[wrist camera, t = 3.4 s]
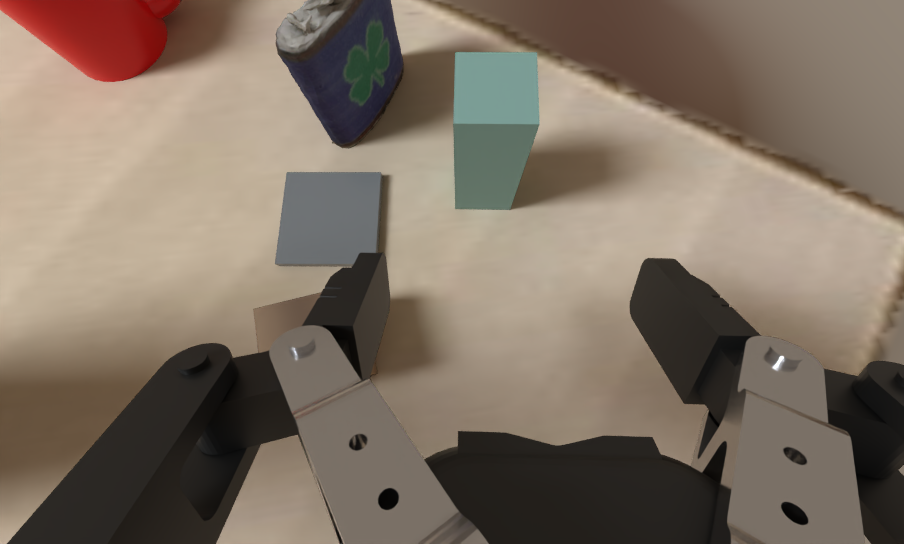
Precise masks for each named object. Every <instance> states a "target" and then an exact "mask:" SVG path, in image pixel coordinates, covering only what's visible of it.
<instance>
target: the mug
mask: <svg viewBox="0 0 904 544" xmlns="http://www.w3.org/2000/svg"><path fill="white" fill-rule="evenodd" d="M180 2H181V0H0V10H1V11H2V12H4V13H5V14H6V15H8V16H9V17H10V18H12V19H13V20H14V21H16V22H17V23H18V24H20V25H21V26H22V27H24V28H25V29H26V30H27V31H29V32H30V33H31V34H33V35H34V36H35V37H37V38H38V39H39V40H41V41H42V42H43V43H45V44H46V45H47V46H49V47H50V48H51V49H53V50H54V51H55V52H56V53H58V54H59V55H60V56H62V57H63V58H64V59H66V60H67V61H68V62H70V63H71V64H72V65H74V66H75V67H76V68H78V69H79V70H80V71H82V72H83V73H84V74H85V75H87V76H88V77H90V78H93V79H95V80H99V81H103V82H116V81H123V80H126V79H129V78H132V77H134V76H137V75H139V74H141V73H142V72H144V71H145V70H147V69H148V68H149V67H150V66H152V65H153V64H154V63H155V62H156V61H157V59H158V58H159V57H160V55H161V54H162V52H163V50H164V48H165V45H166V41H167V29H166V25H165V23H164V21H163V19H162V18H163V17H165V16H167V15H169V14H170V13H172V12H173V11H174V10H175V9H176V8H177V7H178V5H179V4H180Z"/></svg>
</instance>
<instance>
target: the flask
mask: <svg viewBox="0 0 904 544" xmlns="http://www.w3.org/2000/svg"><path fill="white" fill-rule="evenodd" d="M276 37H277V39H276V47H277V51H278V55H279V56H280V57H281V59H282V61H283V62H284V63H285V64H286V66H287V67H288V69H289V71H290V73H291V75H292V77H293V78H294V79H295V82H296V83H297V84H298V86H299V87H300V89H301V91H302V93H303V94H304V96H305V97H306V99H307V100H308V101H309V103H310V105H311V107H312V109H313V111H314V112H315V114H316V116H317V117H318V118H319V120H320V121H321V123H322V125H323V127H324V128H325V130H326V131H327V133H328V135H329V136H330V138H331V140H332V141H333V142H332V143H335V144H336V145H338V146H340V147H341V148H350V147H352V146H355V145H356V144H357V143H358V142H360V141H361V140H362V139H363V138H364V137H365V136H366V134H367V133H368V132H369V131H370V130H371V129H372V128H373V127H374V125H375V124H376V123H377V122H378V120H379V119H380V117H381V115H382V114H383V113H384V111H385V109H386V106H387V104H388V103H389V102H390V100H391V98H392V96H393V95H394V92H395V90H396V88H397V86H398V85H399V83H400V81H401V79H402V74H403V58H402V54H401V49H400V44H399V40H398V36H397V31H396V27H395V22H394V16H393V10H392V5H391V0H308V1H306V2H304V4H303V6H302V7H301V8H300V9H298V10H297V11H295V12H294V13H293V14H291V13H288V14H287V18H285V19H284V20H283V22H282V24H281V25H280V27H279V28H278V29H277V32H276Z"/></svg>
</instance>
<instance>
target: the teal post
mask: <svg viewBox="0 0 904 544" xmlns="http://www.w3.org/2000/svg"><path fill="white" fill-rule="evenodd" d="M538 127H539V98H538V71H537V52H455V79H454V120H453V128H454V172H455V209H491V210H510V208H511V205H512V203H513V200H514V197H515V194H516V191H517V188H518V185H519V182H520V179H521V176H522V174H523V171H524V168H525V165H526V162H527V159H528V156H529V153H530V150H531V147H532V145H533V142H534V139H535V136H536V133H537V130H538Z"/></svg>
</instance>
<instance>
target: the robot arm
mask: <svg viewBox="0 0 904 544" xmlns="http://www.w3.org/2000/svg"><path fill="white" fill-rule="evenodd" d="M389 308H390V290H389V281H388V271H387V262H386V256H385V254H384V253H365V252H361V253H359V255H358V257H357V259H356V261H355V263H354V265H353V266H352V268H342V269H340V270H339V271H338V272H336V273H335V274H334V275H332V276H331V277H330V279H329V281H328V282H327V284H326V286H325V289H323V291H322V293H321V294H320V298H318V299H317V301H316V303H315V305H314V306H313V308H312V310H311V311H310V313H309V315H308V316H307V318H306V320H305V321H304V323H303V325H302V326H301V327H297V328H294V329H292V330H289V331H287V332H285V333H284V334H282V335H281V336H279V337H278V338H277V339H276V340H275V341H274V342H273V344H272V345H271V347H270V350H269V351H265V352H261V353H256V354H251V355H246V356H241V357H236V358H233V357H232V355H231V352H230V350H229V349H228V348H227V347H226V346H224V345H222V344H217V343H207V344H201V345H197V346H194V347H191V348H188V349H186V350H184V351H181V352H180V353H178V354H176V355H175V356H173V357H172V358H170V359H169V360H168V361H166V362H165V363H164V364H163V365H162V367H161V368H160V369H159V370H158V371H157V372H156V373H155V375H154V376H153V377H152V378H151V379H150V380H149V381H148V383H147V384H146V385H145V386H144V387H143V388H142V389H141V391H140V392H139V393H138V394H137V395H136V396H135V398H134V399H133V400H132V401H131V402H130V403H129V404H128V406H127V407H126V408H125V409H124V410H123V411H122V412H121V414H120V415H119V416H118V417H117V418H116V419H115V420H114V422H113V423H112V424H111V425H110V426H109V427H108V428H107V430H106V431H105V432H104V433H103V434H102V435H101V437H100V438H99V439H98V440H97V441H96V442H95V443H94V445H93V446H92V447H91V448H90V449H89V450H88V451H87V453H86V454H85V455H84V456H83V457H82V458H81V459H80V461H79V462H78V463H77V464H76V465H75V466H74V467H73V469H72V470H71V471H70V472H69V473H68V474H67V476H66V477H65V478H64V479H63V480H62V481H61V482H60V484H59V485H58V486H57V487H56V488H55V489H54V490H53V492H52V493H51V494H50V495H49V496H48V497H47V498H46V500H45V501H44V502H43V503H42V504H41V505H40V506H39V508H38V509H37V510H36V511H35V512H34V513H33V514H32V516H31V517H30V518H29V519H28V520H27V521H26V523H25V524H24V525H23V526H22V527H21V528H20V529H19V531H18V532H17V533H16V534H15V535H14V536H13V537H12V539H11V540H10V541H9V542H8V543H7V544H216V542H217V540H218V538H219V536H220V533H221V531H222V529H223V527H224V525H225V522H226V520H227V518H228V516H229V514H230V511H231V509H232V507H233V505H234V502H235V500H236V498H237V496H238V494H239V491H240V489H241V487H242V485H243V483H244V480H245V478H246V476H247V474H248V471H249V469H250V467H251V465H252V463H253V460H254V458H255V456H256V454H257V451H258V449H259V447H260V445H261V444H263V443H267V442H270V441H274V440H278V439H282V438H286V437H289V436H293V435H297V434H298V437H299V440H300V442H301V445H302V447H303V450H304V453H305V455H306V458H307V460H308V463H309V465H310V468H311V471H312V473H313V476H314V478H315V481H316V484H317V486H318V489H319V491H320V494H321V497H322V499H323V502H324V505H325V507H326V510H327V513H328V515H329V518H330V521H331V523H332V526H333V529H334V531H335V534H336V537H337V539H338V542H339V544H865V540H864V535H865V536H866V537H867V539H868V540H869V541H870V543H871V544H904V476H903V475H902V474H901V473H900V472H899V471H898V469H900V468H901V467H902V466H903V465H904V365H901V364H897V363H893V362H887V361H874V362H871V363H869V364H868V365H867V366H866V367H865V368H864V370H863V371H862V372H861V373H860V374H859V376H854V375H850V374H845V373H841V372H836V371H832V370H827V369H823V367H822V365H821V363H820V362H819V361H818V360H817V359H816V358H815V357H814V356H813V355H811V354H810V353H809V352H807V351H806V350H804V349H802V348H800V347H799V346H797V345H795V344H792V343H790V342H787V341H785V340H782V339H778V338H774V337H769V336H761V335H760V334H759V333H758V332H757V331H756V330H755V329H754V328H753V327H752V326H751V325H750V324H749V323H748V322H747V321H745V320H744V319H743V318H742V317H741V316H740V315H739V314H738V313H737V312H736V311H735V310H734V309H733V308H732V307H729V304H728V303H727V302H726V301H725V300H724V299H723V298H720V295H719V294H718V293H717V292H716V291H715V290H714V289H713V288H712V287H711V286H710V285H709V284H707V283H705V282H703V281H702V280H700V279H698V278H696V277H695V276H693V275H691V274H690V273H689V272H688V271H687V270H686V269H685V268H684V267H683V266H682V265H681V264H680V263H679V262H678V261H677V260H675V259H665V258H647V259H645V260H644V262H643V263H642V266H641V269H640V272H639V275H638V278H637V281H636V284H635V287H634V290H633V294H632V297H631V300H630V314H631V317H632V319H633V321H634V323H635V325H636V326H637V328H638V329H639V331H640V333H641V334H642V336H643V338H644V339H645V341H646V342H647V344H648V346H649V347H650V349H651V351H652V352H653V354H654V355H655V357H656V359H657V360H658V362H659V364H660V365H661V367H662V369H663V370H664V372H665V373H666V375H667V377H668V378H669V380H670V382H671V383H672V385H673V386H674V388H675V390H676V391H677V393H678V395H679V396H680V398H681V400H682V401H683V403H684V404H705V405H706V406H707V408H708V410H707V412H706V413H705V415H704V417H703V420H702V424H701V428H700V432H699V436H698V439H697V443H696V447H695V451H694V455H693V459H692V463H691V466H689V465H687V464H685V463H682V462H680V461H678V460H675V459H673V458H670V457H667V456H665V455H661V454H660V452H659V450H658V448H657V446H656V444H655V442H654V440H653V437H630V436H601V437H596V438H592V439H588V440H583V441H579V442H575V443H570V444H566V445H561V446H555V445H550V444H546V443H543V442H539V441H535V440H531V439H528V438H524V437H520V436H516V435H512V434H509V433H500V432H467V431H458V446H457V447H453V448H449V449H446V450H443V451H441V452H438V453H436V454H434V455H432V456H430V457H428V458H426V459H425V460H424V459H423V458H422V456H421V455H420V453H419V452H418V450H417V449H416V447H415V446H414V444H413V443H412V441H411V440H410V438H409V437H408V435H407V434H406V432H405V431H404V429H403V428H402V426H401V425H400V423H399V422H398V420H397V419H396V417H395V416H394V414H393V413H392V411H391V410H390V408H389V407H388V405H387V404H386V402H385V401H384V399H383V398H382V396H381V395H380V393H379V392H378V390H377V389H376V387H375V386H374V384H373V383H372V382H371V381H370V380H369V379H370V376H371V372H372V369H373V365H374V362H375V358H376V355H377V351H378V348H379V345H380V341H381V338H382V334H383V331H384V327H385V324H386V320H387V317H388V314H389Z"/></svg>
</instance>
